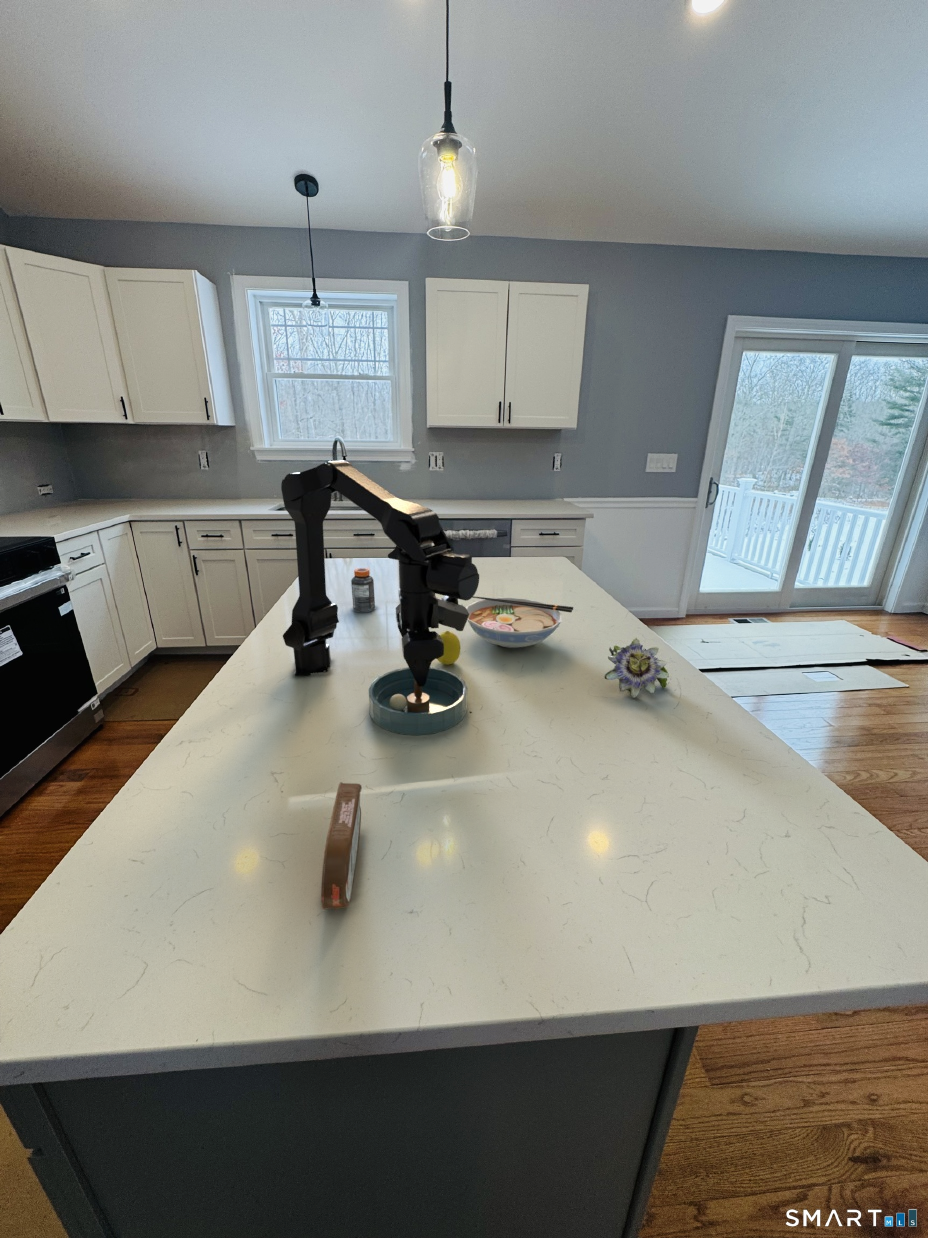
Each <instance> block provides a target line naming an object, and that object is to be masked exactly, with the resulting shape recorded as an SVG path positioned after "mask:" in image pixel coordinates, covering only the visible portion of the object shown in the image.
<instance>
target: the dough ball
mask: <svg viewBox="0 0 928 1238" xmlns="http://www.w3.org/2000/svg"><path fill="white" fill-rule="evenodd" d="M406 704H407V701H406V698H405V697H404V696H403V695H401V694H395V695H393V696H392V697H391V699H390V707H391V708H392V709H393V710H396V711H401V710H403V709H404V708H405V707H406Z"/></svg>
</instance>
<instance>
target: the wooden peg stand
mask: <svg viewBox="0 0 928 1238" xmlns="http://www.w3.org/2000/svg"><path fill="white" fill-rule="evenodd" d="M429 708H430V698H429V695H427V694H426V693H422V686H421V687H419V686H418V685H417V683H416V681H415V679H414V693H412V694H410V695H409V696H408V697H407V709H408V710H409V711H410V712H413V713H423V712H426V711H427V710H429Z"/></svg>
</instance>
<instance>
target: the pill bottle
mask: <svg viewBox="0 0 928 1238" xmlns="http://www.w3.org/2000/svg"><path fill="white" fill-rule="evenodd" d="M370 574H371V572H370V569H369V568H368V567H359V568H355V569H354V572H353V575H354V576H353V577H352V578H351V580H350V583H351V584H350V585H351V595H352V596H351V597H352V609H353V611H355V612H358V613H370V612H372V611H374V610H375V608H376V600H375V598H376V597H375V583H374V581H375V580H374V578H373V576H371V575H370Z"/></svg>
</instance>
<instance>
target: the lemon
mask: <svg viewBox="0 0 928 1238" xmlns="http://www.w3.org/2000/svg"><path fill="white" fill-rule="evenodd" d="M439 635H440V636H441V638H442V641H443V644H444V655H443V656H442V657H440V658H438V659H436V660H437V661H438V662H439V663H441V664H442V665H445V666H449V665H452V664H455V662H457V661H458V660H459V658H460V656H461V641H460V639H459V637H458V636H457V635H456V634H455V633H454V632H452V631H450V630H445V631H444V632H442V633H440V634H439Z"/></svg>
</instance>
